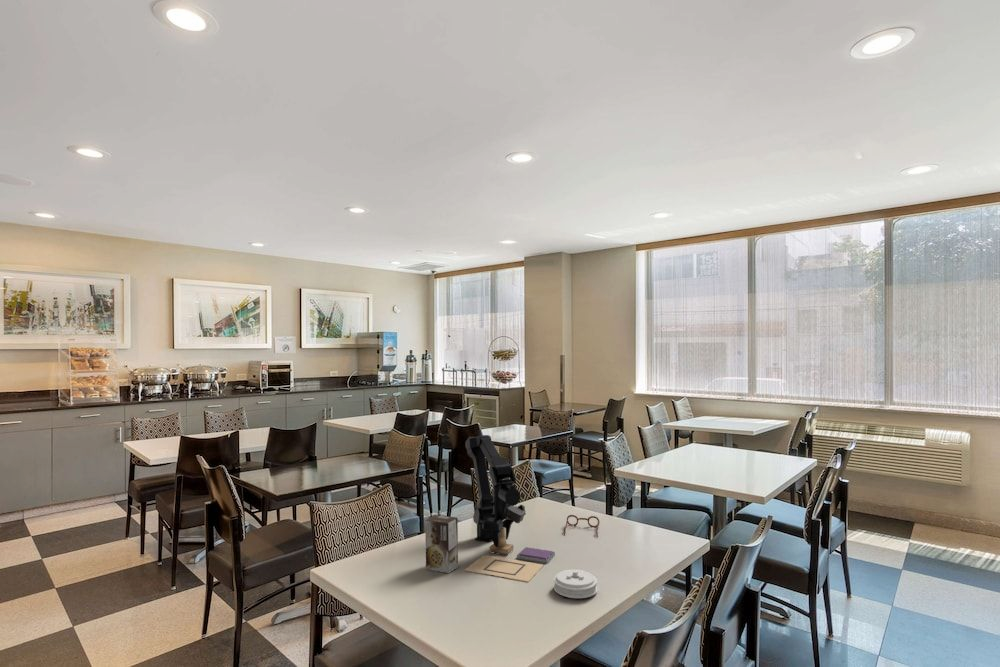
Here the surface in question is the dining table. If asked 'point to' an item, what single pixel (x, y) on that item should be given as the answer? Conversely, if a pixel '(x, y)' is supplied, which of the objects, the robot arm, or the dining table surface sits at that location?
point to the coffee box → (441, 543)
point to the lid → (575, 584)
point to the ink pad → (536, 555)
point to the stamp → (502, 544)
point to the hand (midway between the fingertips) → (501, 543)
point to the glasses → (581, 519)
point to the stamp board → (505, 568)
